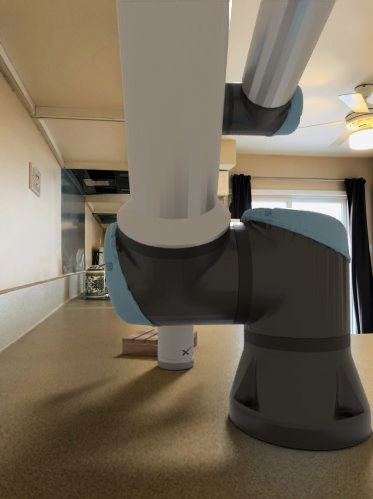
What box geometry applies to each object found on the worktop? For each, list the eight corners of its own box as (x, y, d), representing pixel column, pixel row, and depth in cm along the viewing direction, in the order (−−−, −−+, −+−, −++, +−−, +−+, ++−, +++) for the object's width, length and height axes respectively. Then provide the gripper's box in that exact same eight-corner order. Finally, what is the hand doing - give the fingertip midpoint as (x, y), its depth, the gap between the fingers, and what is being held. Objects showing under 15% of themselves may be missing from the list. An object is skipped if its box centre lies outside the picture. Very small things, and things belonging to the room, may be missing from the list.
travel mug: (196, 370, 60) (195, 249, 61) (156, 370, 60) (156, 249, 61) (195, 360, 67) (194, 251, 67) (158, 360, 66) (158, 251, 67)
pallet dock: (180, 358, 68) (180, 341, 69) (122, 353, 72) (122, 338, 72) (197, 344, 80) (197, 330, 80) (146, 341, 83) (146, 328, 84)
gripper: (249, 185, 65) (250, 306, 64) (122, 193, 72) (122, 301, 71) (243, 176, 58) (244, 311, 57) (103, 186, 65) (102, 306, 64)
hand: (176, 306), depth 64 cm, fingers open, 13 cm apart
